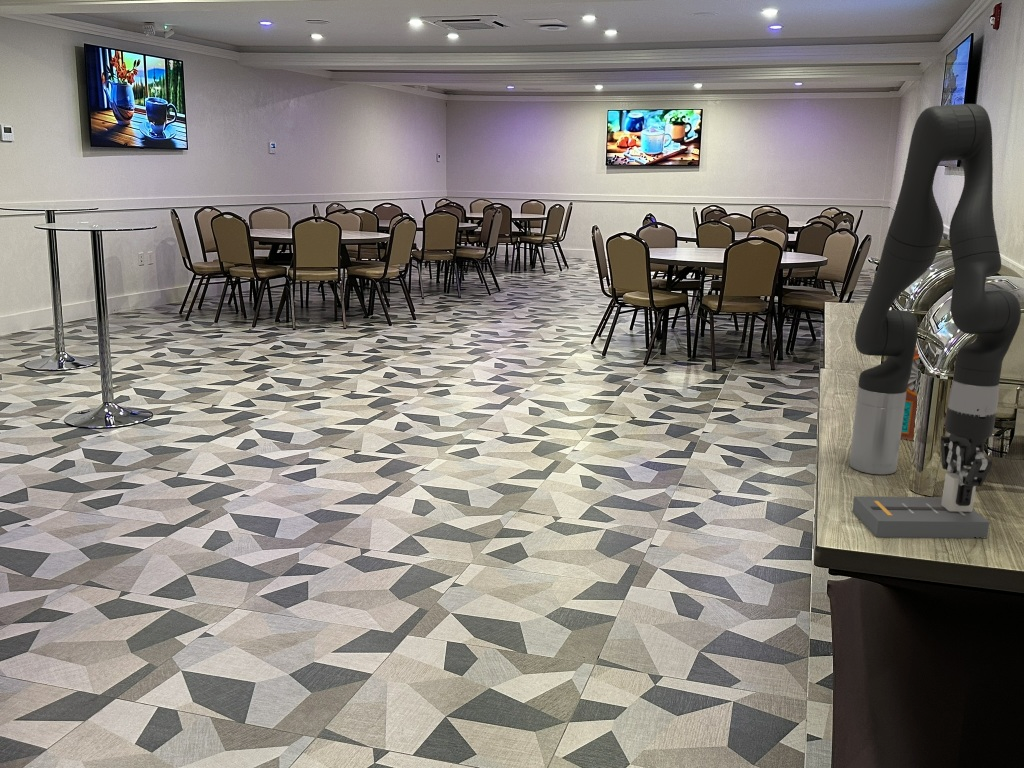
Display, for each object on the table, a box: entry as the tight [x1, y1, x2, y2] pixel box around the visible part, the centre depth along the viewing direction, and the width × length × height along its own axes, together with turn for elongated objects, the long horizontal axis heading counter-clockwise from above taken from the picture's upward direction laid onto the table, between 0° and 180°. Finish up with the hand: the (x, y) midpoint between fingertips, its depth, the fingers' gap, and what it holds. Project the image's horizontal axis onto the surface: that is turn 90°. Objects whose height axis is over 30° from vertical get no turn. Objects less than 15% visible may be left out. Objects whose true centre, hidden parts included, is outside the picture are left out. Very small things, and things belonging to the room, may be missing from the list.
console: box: [852, 496, 991, 539], centre depth 156 cm, size 11×19×3 cm, turn 90°
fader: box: [941, 472, 977, 512], centre depth 155 cm, size 3×4×6 cm
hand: (957, 500), depth 156 cm, fingers closed on fader, 3 cm apart
